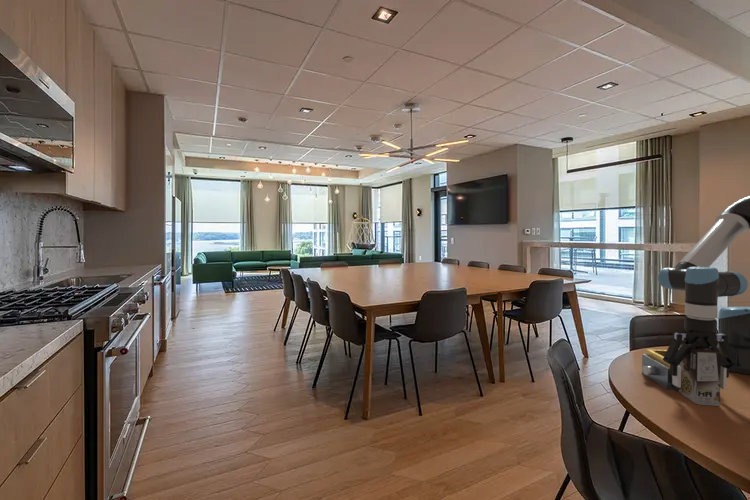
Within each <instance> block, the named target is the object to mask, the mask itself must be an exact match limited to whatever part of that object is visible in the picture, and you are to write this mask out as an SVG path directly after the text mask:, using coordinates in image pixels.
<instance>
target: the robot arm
mask: <svg viewBox="0 0 750 500" xmlns="http://www.w3.org/2000/svg"><path fill="white" fill-rule="evenodd" d="M714 222H715V223H714V224H713V225H712V226H711V228H709V230H707V232H706V233H705V234H704V235H703V236H702V237H701V238H700V239H699V241H697V242H696V243H695V244H694V245H693V246H692V248H691V249H690V250H689V251H687V252H686V254H685V255H684V256H683V257H682V258H681V259H680V261H678V263H677V264H676V265H675V266H674V267H671V266H669V267H664V268H662V269H660V271H659V272H658V276H657V281H658V283H659V285H660V286H661V287H662V288H665V289H667V290H669V289H670V290H673V291H683V292H684V293H685V294H684V295H685V296H684V315H685V316H684V321H683V323H684V325H683V328H684V332H683V333H681V332H676V331H674V332H673V333H672V340H671V341H670V343H669V346H668V347H667V349H666V350H667V352H666V354H665V356H664V358H663V361H665V362H667V363H668V364H670V374H671V375H672V384H673V385H675V386H677V387H678V388H681V366H679V364H680V363H681V362H682V360H683V359H684V358H685V357H686V356H687V355H688V353H689V352H690V351H691V350H693V349H694V348H711V349H713V350H716V351H718V352H720V353H721V375H720V389H722V390H727V379H729V377H730V372H732V373H738V374H743V375H750V306H724V307H721V308H720V309H719V310H718V298H721V297H735V296H739V295H742V294H744V293H745V292H746V291H747V290H748V287H749V283H748V279H747V278H746V277H745V276H744V275H743V274H742V273H740V272H736V271H719V270H718V268H716V267H711V266H712V265H713V264H714V263H715V261H716V260H717V259H718V258H719V257H720V256H721V255H722V254H723V253H724V252H725V251H726V249H727V248H728V247H730V245H731V244H732V243H733V242H734V241H735V240H736V238H738V237H739V236H740V235H743V234H745V233H746V232H748V231H749V230H750V195H748V196H746V197H743V198H741V199H739V200H737V201H735V202H733V203H732V204H730V205H729V206H727V207H726V208H725V209H723V210H722V211H721V212H720V213H719V214H718V215H717V216H716V217H715V220H714ZM718 311H719V312H718ZM717 319H718V320H717ZM716 332H718V333H716ZM715 341H717V345H716V344H715ZM681 344H682V347H681V348H680V349H679V347H680V345H681ZM689 344H690V345H689Z"/></svg>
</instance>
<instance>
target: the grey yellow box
mask: <svg viewBox="0 0 750 500" xmlns="http://www.w3.org/2000/svg"><path fill="white" fill-rule="evenodd" d="M667 350H668V349H652V348H651V349H648V348H647V349H646V350H645V351H646V353H642V354H641V355H642V358H641V359H642V360H641V373H642V374H643V375H644V376H645V377H647V378H649V379H650V380H652V381H654V382H655V383H657V384H658V385H660V386H662V387H663V388H664V389H665V390H670V391H671V390H673V391H674V390H675V391H676V390H677V391H679V388H678V387H677V386H675V385H673V384H672V375H671V374H670V364H668V363H667V362H665V361H663V358H664V356H665V354H666V352H667Z"/></svg>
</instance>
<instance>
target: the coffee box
mask: <svg viewBox="0 0 750 500" xmlns="http://www.w3.org/2000/svg"><path fill="white" fill-rule="evenodd" d="M682 344H683V343H681V345H680V347H679V349H680V348H681V347H682ZM689 345H690V344H689ZM679 349H678V350H679ZM679 366H681V388H679V390H678V393H679V394H680V395H682V396H684V397H685V398H686V399H688V400H690V401H691V402H692V403H694V404H695V405H702V406H714V407H715V406H716V407H720V405H721V404H720V402H721V401H720V400H721V388H720V375H721V353H720V352H718V351H716V350H713V349H711V348H694V349H693V350H691V351H690V352H689V353H688V355H687V356H686V357H685V358H684V359H683V360H682V362H681V363H680V364H679Z"/></svg>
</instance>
